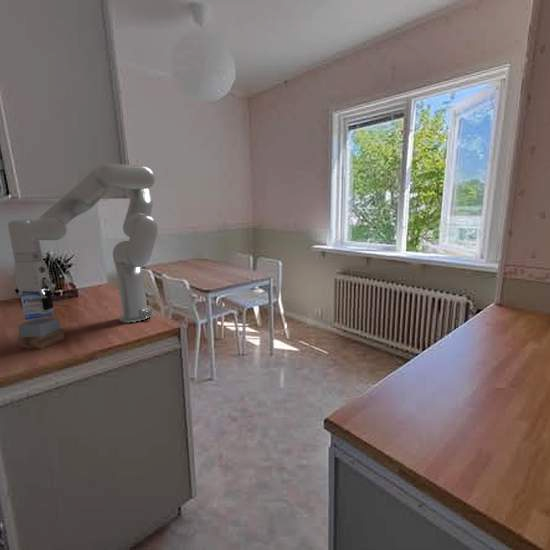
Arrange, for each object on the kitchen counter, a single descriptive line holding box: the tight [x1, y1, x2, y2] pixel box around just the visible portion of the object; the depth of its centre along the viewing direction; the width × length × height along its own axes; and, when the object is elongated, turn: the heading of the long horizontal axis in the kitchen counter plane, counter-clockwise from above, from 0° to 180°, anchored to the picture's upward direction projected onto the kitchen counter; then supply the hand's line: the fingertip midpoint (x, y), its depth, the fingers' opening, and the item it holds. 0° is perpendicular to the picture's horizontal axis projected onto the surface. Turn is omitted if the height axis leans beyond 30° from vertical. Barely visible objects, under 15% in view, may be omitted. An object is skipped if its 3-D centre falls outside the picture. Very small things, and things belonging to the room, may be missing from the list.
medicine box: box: [19, 291, 54, 321], centre depth 115 cm, size 8×4×9 cm, turn 119°
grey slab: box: [17, 317, 61, 338], centre depth 116 cm, size 8×8×4 cm
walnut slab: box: [17, 328, 65, 350], centre depth 117 cm, size 9×9×4 cm
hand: (37, 308), depth 116 cm, fingers closed on medicine box, 8 cm apart
